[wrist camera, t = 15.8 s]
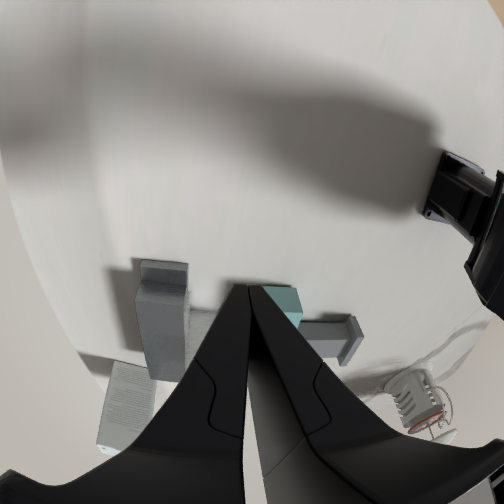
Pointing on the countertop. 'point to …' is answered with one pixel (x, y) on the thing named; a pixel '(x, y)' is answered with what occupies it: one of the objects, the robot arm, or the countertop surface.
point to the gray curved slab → (164, 317)
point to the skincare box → (126, 407)
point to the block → (197, 332)
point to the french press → (420, 400)
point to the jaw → (320, 327)
